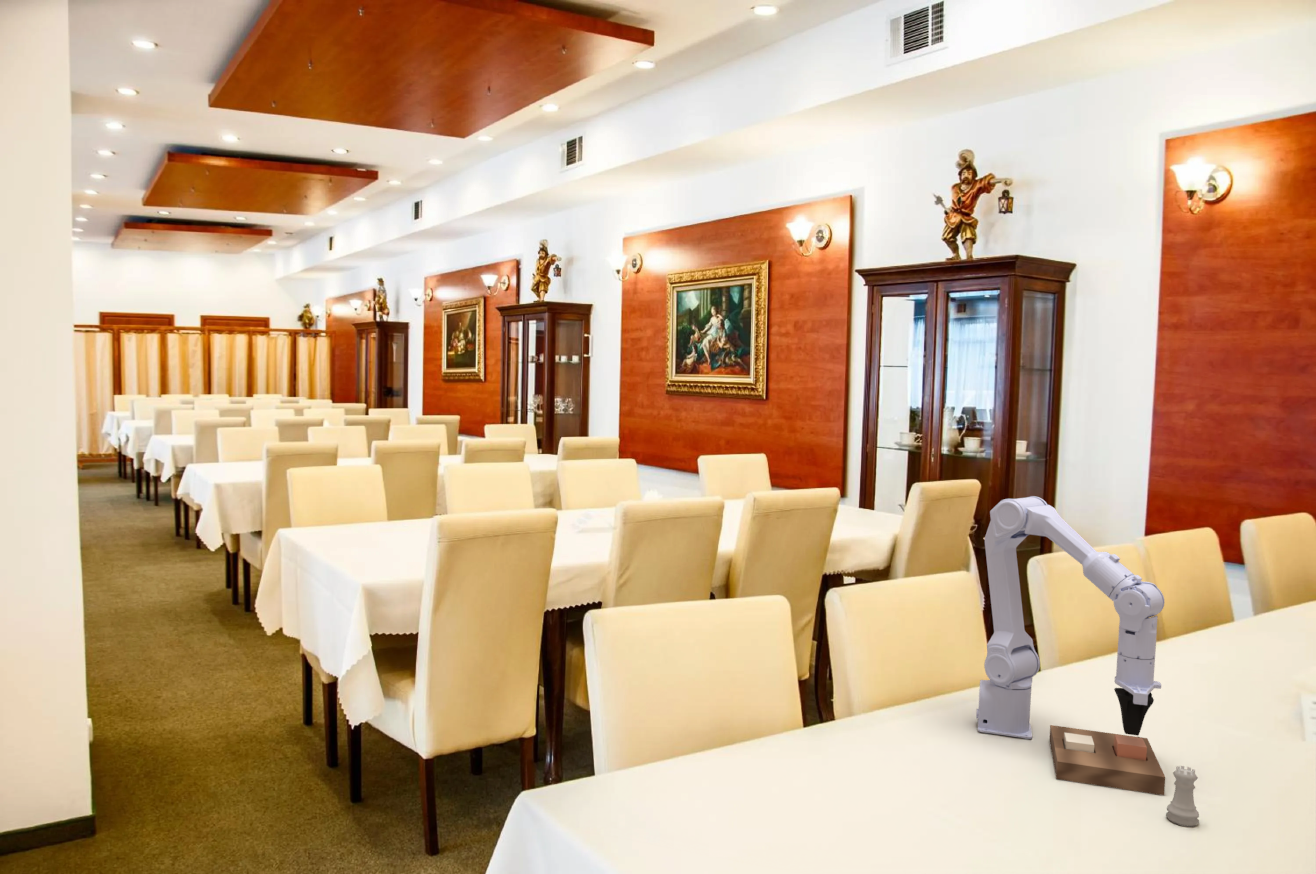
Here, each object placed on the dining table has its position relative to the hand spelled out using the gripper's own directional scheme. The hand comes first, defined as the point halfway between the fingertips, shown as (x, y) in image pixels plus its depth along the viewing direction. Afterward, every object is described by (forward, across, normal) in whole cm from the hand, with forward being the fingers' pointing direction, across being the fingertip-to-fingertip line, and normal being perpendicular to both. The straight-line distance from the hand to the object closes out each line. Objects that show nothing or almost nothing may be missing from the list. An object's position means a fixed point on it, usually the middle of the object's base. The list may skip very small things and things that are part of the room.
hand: (1131, 733), depth 163 cm
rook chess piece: (+7, -18, -5) cm, 20 cm away
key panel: (+6, 0, +4) cm, 8 cm away
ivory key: (+6, 0, +8) cm, 10 cm away
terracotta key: (+5, 0, 0) cm, 5 cm away
